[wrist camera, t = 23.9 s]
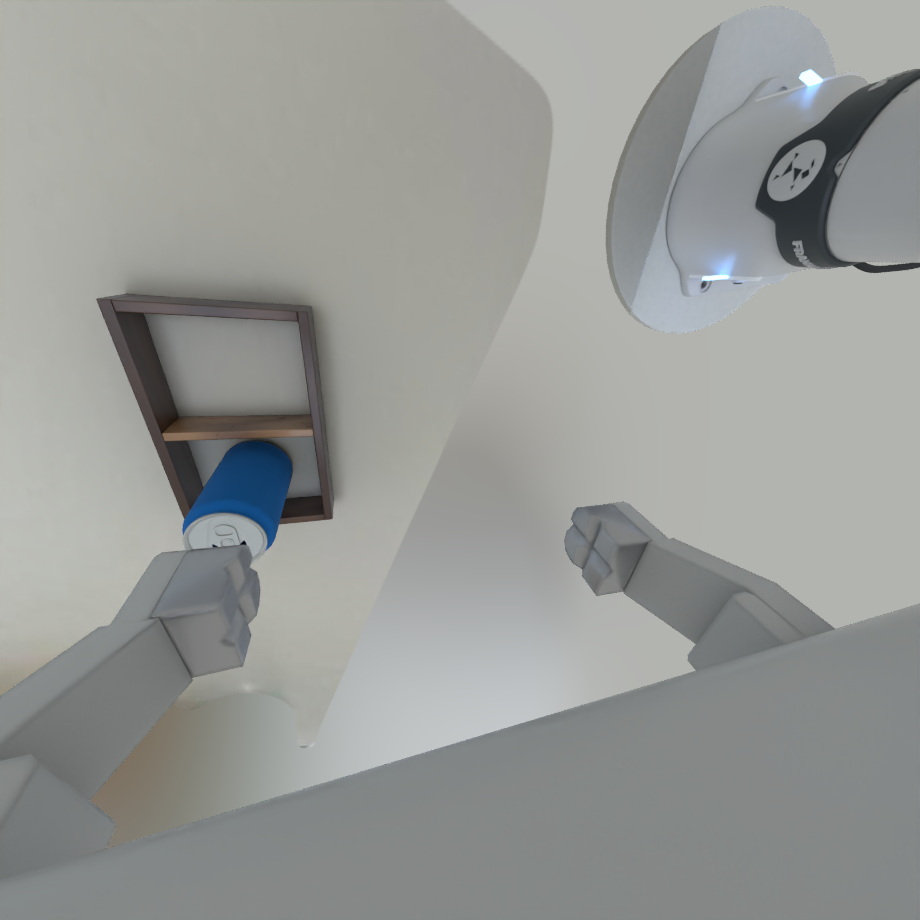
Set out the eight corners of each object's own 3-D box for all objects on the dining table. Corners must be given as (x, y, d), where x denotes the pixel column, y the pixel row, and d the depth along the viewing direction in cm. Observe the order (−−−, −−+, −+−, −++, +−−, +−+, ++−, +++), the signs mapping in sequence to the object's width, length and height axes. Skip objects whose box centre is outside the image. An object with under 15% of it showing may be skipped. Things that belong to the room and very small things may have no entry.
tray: (311, 306, 30) (307, 311, 27) (333, 500, 41) (332, 519, 38) (124, 293, 26) (95, 298, 23) (202, 511, 37) (189, 533, 34)
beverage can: (234, 492, 37) (191, 578, 27) (216, 439, 34) (161, 515, 24) (298, 486, 39) (280, 565, 29) (287, 435, 35) (263, 505, 26)
